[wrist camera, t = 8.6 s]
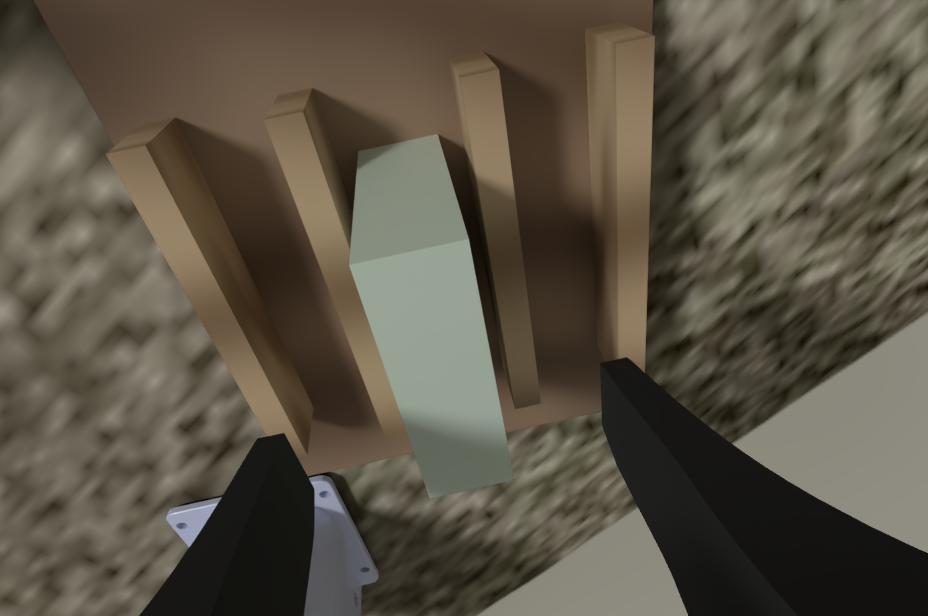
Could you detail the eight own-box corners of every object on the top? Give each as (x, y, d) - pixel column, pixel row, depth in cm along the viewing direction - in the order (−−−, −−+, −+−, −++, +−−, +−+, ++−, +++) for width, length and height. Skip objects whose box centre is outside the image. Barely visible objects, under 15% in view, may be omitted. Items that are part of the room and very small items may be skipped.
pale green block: (477, 333, 22) (514, 480, 16) (415, 347, 22) (430, 498, 16) (437, 133, 17) (468, 238, 11) (358, 151, 17) (349, 265, 11)
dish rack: (633, 387, 26) (665, 444, 23) (301, 460, 26) (292, 526, 23) (641, -161, 14) (708, -184, 11) (37, -33, 14) (-50, -23, 11)
